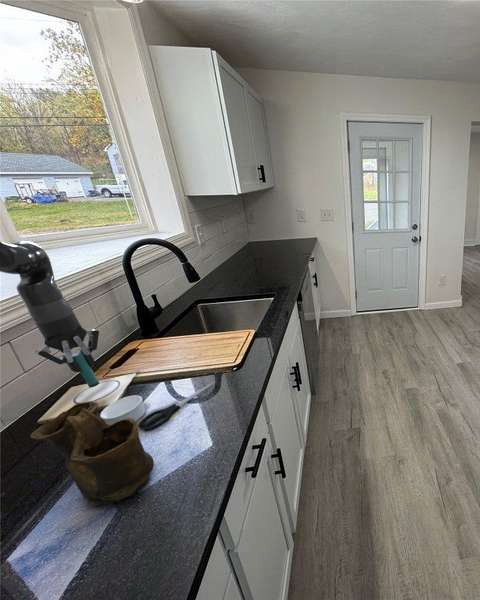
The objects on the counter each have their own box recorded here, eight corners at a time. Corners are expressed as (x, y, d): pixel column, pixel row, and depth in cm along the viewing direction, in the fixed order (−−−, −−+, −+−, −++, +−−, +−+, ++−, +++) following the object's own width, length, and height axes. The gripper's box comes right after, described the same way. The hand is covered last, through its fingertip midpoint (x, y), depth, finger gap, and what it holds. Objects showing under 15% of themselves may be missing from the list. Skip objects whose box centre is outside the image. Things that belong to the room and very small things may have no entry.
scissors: (207, 380, 99) (135, 425, 83) (206, 378, 98) (134, 423, 82) (221, 385, 96) (149, 434, 80) (220, 383, 95) (147, 431, 79)
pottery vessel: (184, 483, 66) (147, 411, 58) (126, 535, 57) (72, 458, 49) (120, 448, 76) (81, 382, 68) (62, 487, 67) (9, 417, 59)
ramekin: (104, 421, 85) (97, 408, 84) (143, 402, 91) (137, 390, 90) (110, 436, 80) (102, 423, 78) (151, 415, 86) (145, 403, 84)
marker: (87, 388, 93) (68, 357, 88) (91, 383, 95) (73, 353, 90) (97, 386, 93) (79, 355, 89) (101, 381, 96) (83, 351, 91)
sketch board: (38, 424, 86) (36, 421, 86) (73, 389, 100) (71, 386, 100) (116, 405, 91) (114, 402, 91) (138, 374, 105) (137, 372, 105)
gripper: (80, 304, 92) (106, 353, 99) (12, 325, 81) (47, 380, 88) (92, 307, 89) (118, 358, 96) (23, 330, 78) (58, 386, 84)
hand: (84, 368), depth 92 cm, fingers closed on marker, 2 cm apart
